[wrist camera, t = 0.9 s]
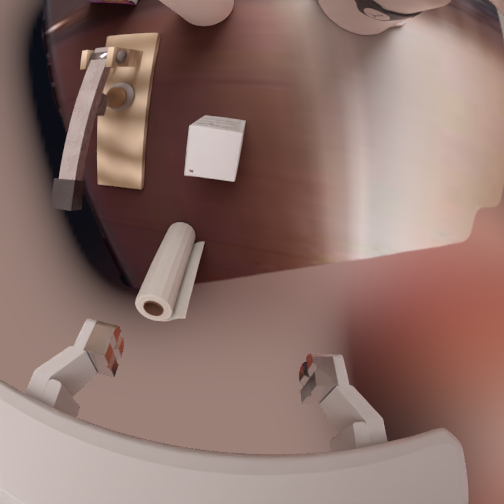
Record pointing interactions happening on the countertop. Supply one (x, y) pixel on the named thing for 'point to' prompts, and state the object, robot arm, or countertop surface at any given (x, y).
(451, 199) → the countertop surface
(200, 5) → the alcohol
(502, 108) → the countertop surface
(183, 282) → the paper towel roll
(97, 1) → the candy bar box
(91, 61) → the lever
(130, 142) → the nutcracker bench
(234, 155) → the supplement box
